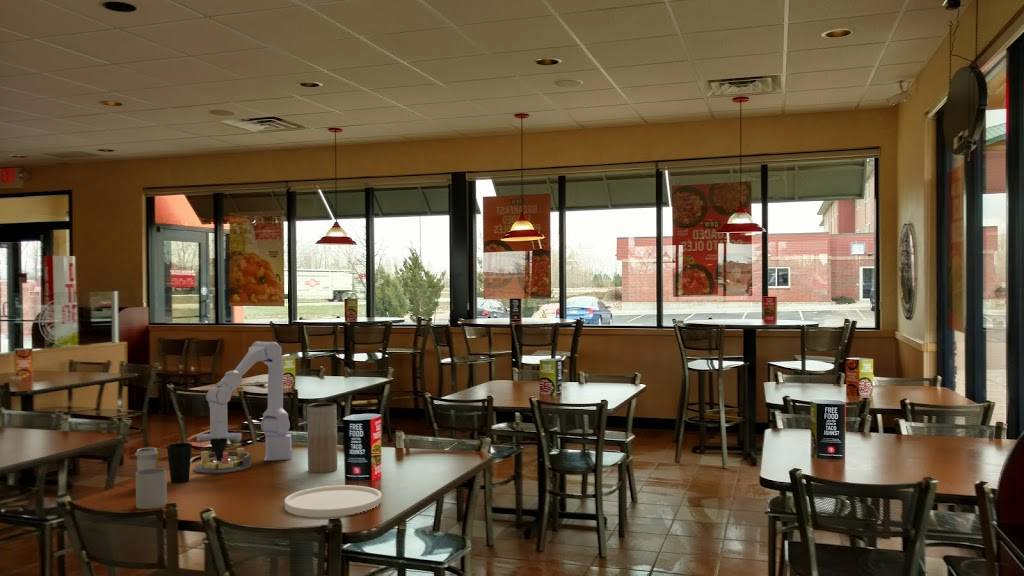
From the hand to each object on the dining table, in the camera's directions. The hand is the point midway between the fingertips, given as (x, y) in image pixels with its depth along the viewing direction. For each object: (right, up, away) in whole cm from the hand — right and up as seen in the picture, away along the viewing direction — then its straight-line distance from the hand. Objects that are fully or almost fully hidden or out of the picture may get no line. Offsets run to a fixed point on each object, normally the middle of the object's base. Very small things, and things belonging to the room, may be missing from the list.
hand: (219, 460), depth 291 cm
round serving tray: (-1, -4, +6) cm, 7 cm away
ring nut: (-1, -3, +6) cm, 7 cm away
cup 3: (-8, -4, -14) cm, 17 cm away
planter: (+36, -4, 0) cm, 36 cm away
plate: (+49, -4, -45) cm, 67 cm away
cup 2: (-5, -4, -44) cm, 44 cm away
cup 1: (-16, -4, -20) cm, 26 cm away
